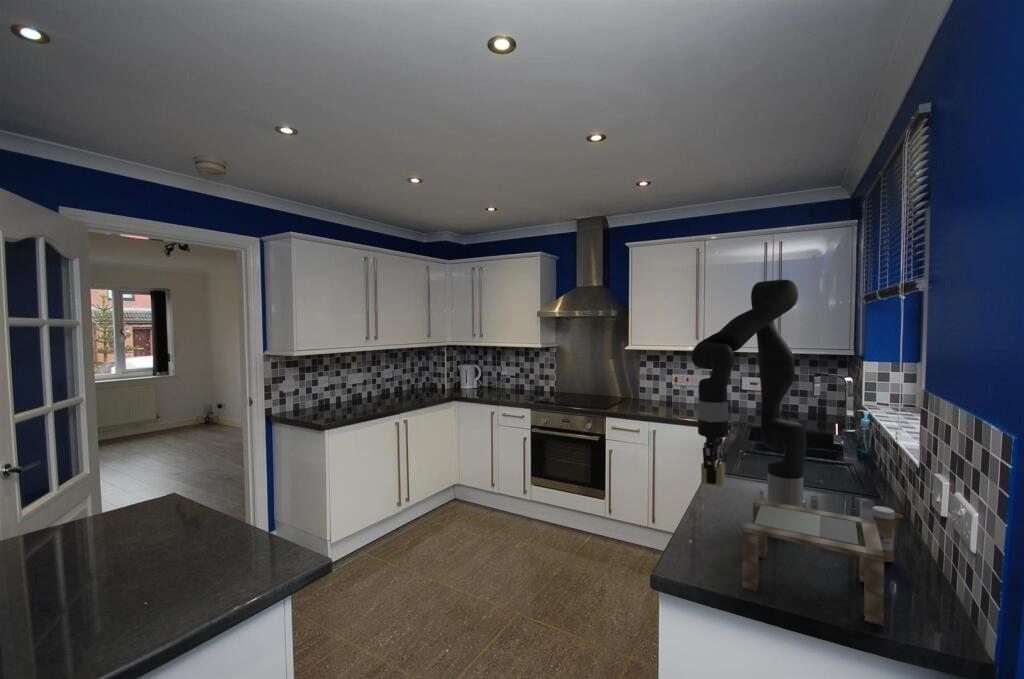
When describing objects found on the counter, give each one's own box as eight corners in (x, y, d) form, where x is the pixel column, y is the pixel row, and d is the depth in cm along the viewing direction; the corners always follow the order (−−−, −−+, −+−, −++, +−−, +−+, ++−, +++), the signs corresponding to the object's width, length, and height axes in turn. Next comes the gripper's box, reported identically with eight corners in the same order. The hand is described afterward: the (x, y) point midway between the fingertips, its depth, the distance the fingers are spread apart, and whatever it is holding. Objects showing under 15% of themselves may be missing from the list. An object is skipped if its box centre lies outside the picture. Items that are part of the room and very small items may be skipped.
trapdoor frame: (874, 579, 112) (875, 520, 111) (883, 626, 94) (884, 556, 94) (754, 551, 126) (754, 498, 126) (742, 587, 109) (742, 526, 109)
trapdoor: (855, 536, 111) (855, 521, 111) (858, 560, 99) (858, 544, 99) (761, 517, 122) (761, 504, 122) (754, 537, 111) (754, 523, 110)
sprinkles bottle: (871, 560, 121) (871, 509, 121) (872, 553, 125) (872, 504, 124) (894, 565, 118) (894, 513, 118) (894, 558, 122) (894, 508, 121)
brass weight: (705, 477, 128) (705, 460, 127) (725, 481, 125) (725, 462, 125) (701, 483, 124) (701, 464, 123) (721, 486, 121) (721, 467, 121)
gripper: (703, 412, 132) (704, 471, 132) (691, 421, 120) (692, 486, 120) (732, 414, 127) (733, 475, 128) (723, 424, 116) (723, 491, 116)
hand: (713, 480), depth 124 cm, fingers closed on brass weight, 5 cm apart
